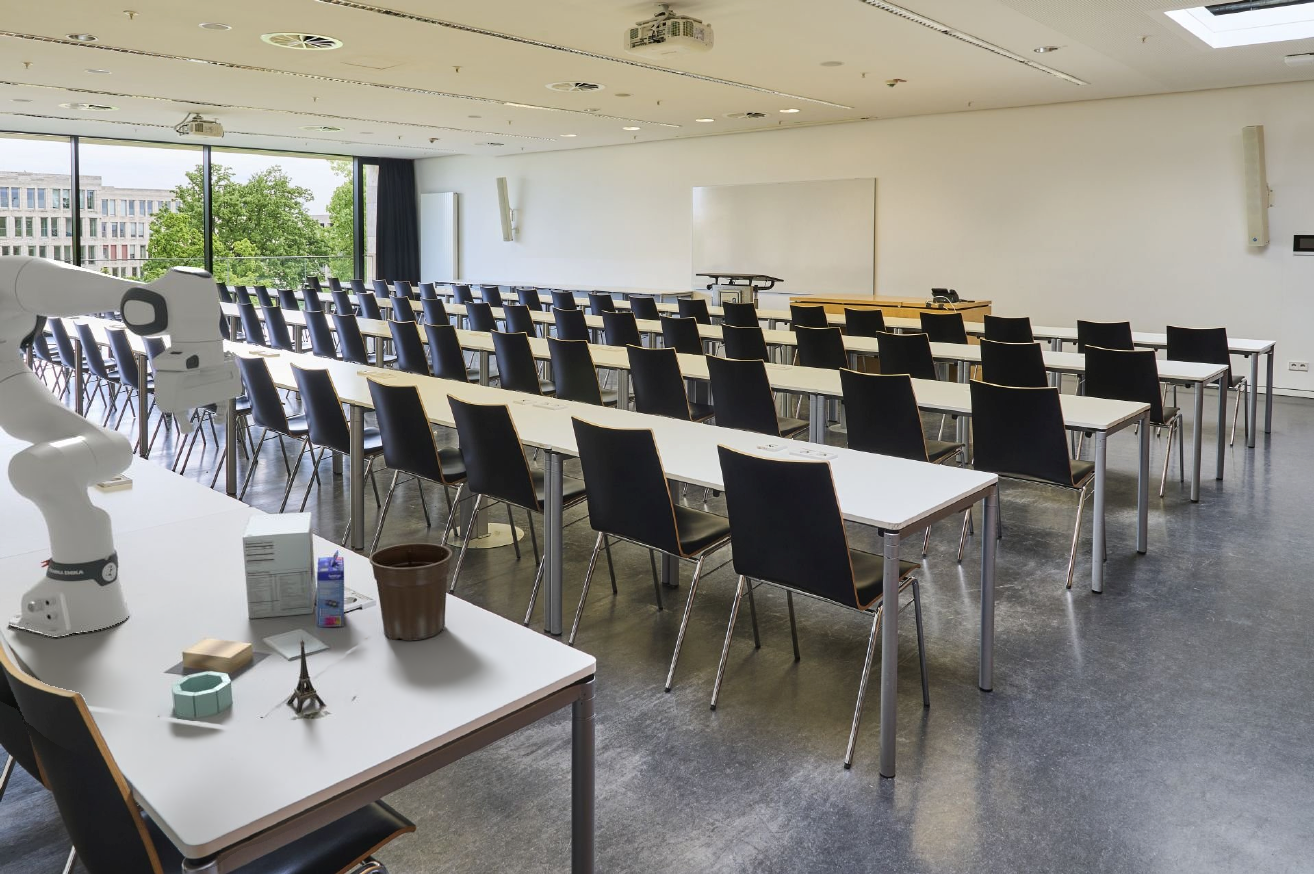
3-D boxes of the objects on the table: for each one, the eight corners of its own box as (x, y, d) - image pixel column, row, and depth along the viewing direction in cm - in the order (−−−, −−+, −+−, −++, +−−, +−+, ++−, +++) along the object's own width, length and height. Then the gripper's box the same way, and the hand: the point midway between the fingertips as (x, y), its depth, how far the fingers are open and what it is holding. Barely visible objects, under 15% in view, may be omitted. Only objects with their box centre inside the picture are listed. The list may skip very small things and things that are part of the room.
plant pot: (359, 627, 203) (355, 552, 200) (429, 608, 214) (427, 537, 210) (395, 652, 191) (392, 573, 188) (468, 631, 202) (467, 556, 198)
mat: (164, 675, 180) (163, 672, 180) (207, 648, 192) (207, 645, 192) (231, 684, 177) (231, 680, 177) (271, 656, 189) (271, 653, 189)
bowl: (162, 716, 165) (160, 691, 164) (198, 693, 174) (196, 669, 173) (209, 723, 163) (206, 697, 162) (242, 699, 172) (240, 675, 171)
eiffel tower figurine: (247, 721, 165) (241, 646, 163) (275, 693, 175) (270, 622, 173) (334, 726, 164) (330, 651, 161) (357, 698, 174) (354, 626, 171)
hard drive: (330, 646, 191) (302, 627, 200) (288, 658, 186) (262, 637, 194) (330, 654, 191) (302, 635, 200) (288, 666, 186) (262, 645, 195)
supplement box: (314, 614, 210) (309, 532, 206) (247, 620, 206) (241, 537, 202) (317, 586, 226) (312, 510, 222) (254, 591, 222) (249, 514, 218)
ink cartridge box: (345, 627, 203) (343, 559, 200) (316, 629, 201) (314, 561, 199) (344, 609, 212) (343, 545, 210) (317, 611, 211) (316, 546, 208)
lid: (183, 667, 182) (182, 651, 182) (206, 652, 188) (205, 638, 188) (231, 673, 180) (230, 657, 180) (253, 658, 186) (252, 643, 186)
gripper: (219, 348, 195) (224, 417, 197) (144, 361, 175) (152, 438, 178) (247, 349, 193) (252, 419, 196) (175, 362, 174) (182, 439, 176)
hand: (204, 428), depth 187 cm, fingers open, 8 cm apart
